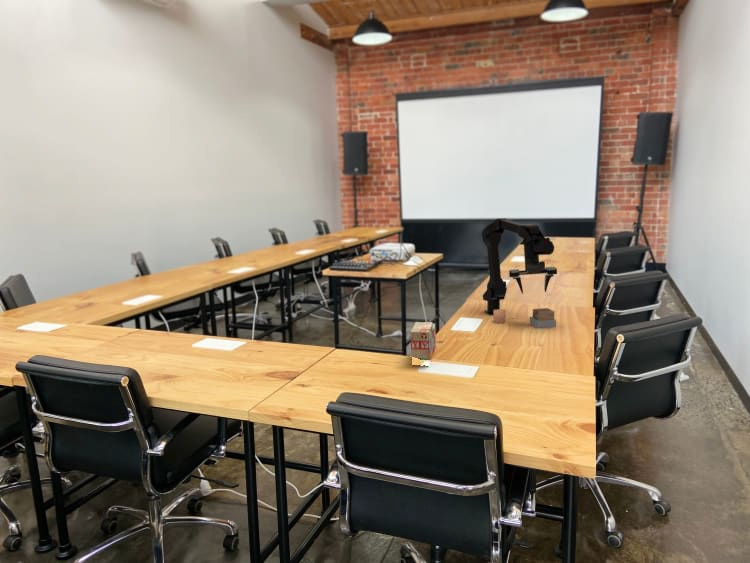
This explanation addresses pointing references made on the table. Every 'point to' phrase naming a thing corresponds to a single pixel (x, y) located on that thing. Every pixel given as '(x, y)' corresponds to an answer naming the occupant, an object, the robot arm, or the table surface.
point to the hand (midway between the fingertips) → (533, 292)
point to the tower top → (543, 314)
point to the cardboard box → (423, 340)
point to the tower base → (542, 323)
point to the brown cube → (499, 316)
